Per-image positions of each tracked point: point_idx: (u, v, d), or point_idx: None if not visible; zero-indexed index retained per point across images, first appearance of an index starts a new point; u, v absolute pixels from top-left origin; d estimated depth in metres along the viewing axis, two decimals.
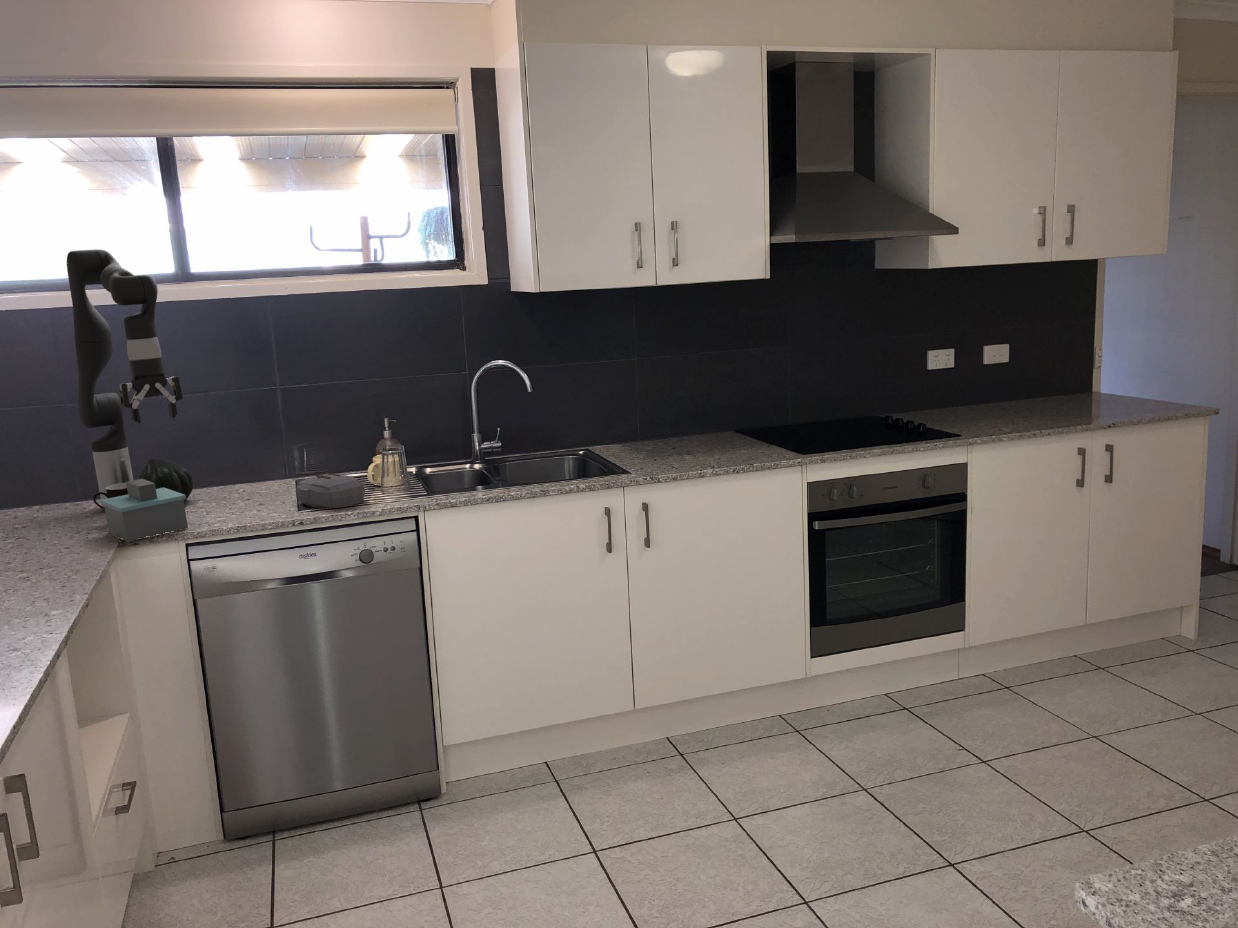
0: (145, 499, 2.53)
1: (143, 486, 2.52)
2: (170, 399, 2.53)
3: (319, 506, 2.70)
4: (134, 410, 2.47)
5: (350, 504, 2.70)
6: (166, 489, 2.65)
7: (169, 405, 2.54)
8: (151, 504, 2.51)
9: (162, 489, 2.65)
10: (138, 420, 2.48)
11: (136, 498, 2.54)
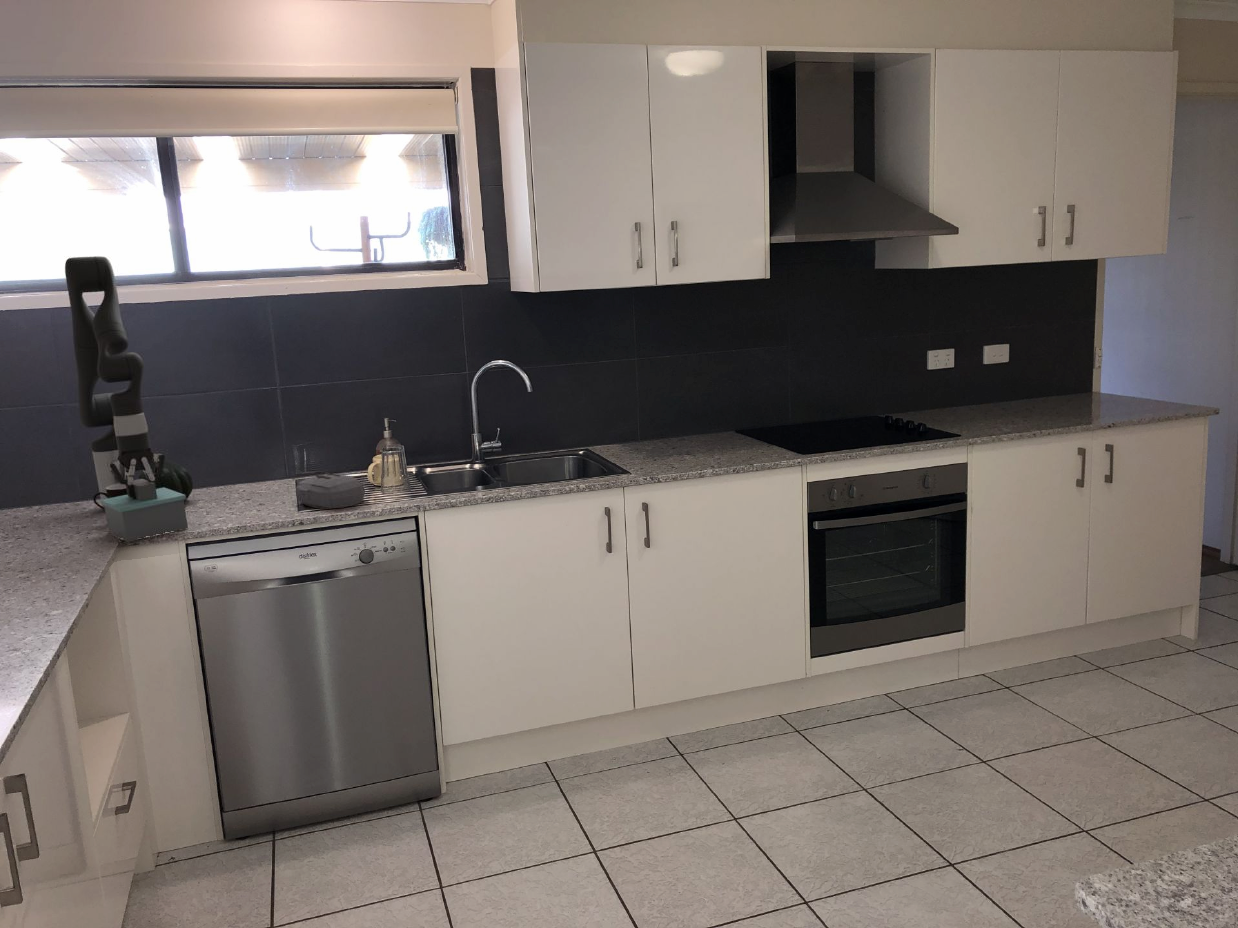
0: (145, 499, 2.53)
1: (143, 486, 2.52)
2: (150, 476, 2.56)
3: (318, 506, 2.70)
4: (130, 486, 2.54)
5: (350, 504, 2.70)
6: (166, 489, 2.65)
7: None
8: (151, 504, 2.51)
9: (162, 489, 2.65)
10: (133, 496, 2.54)
11: (136, 498, 2.54)
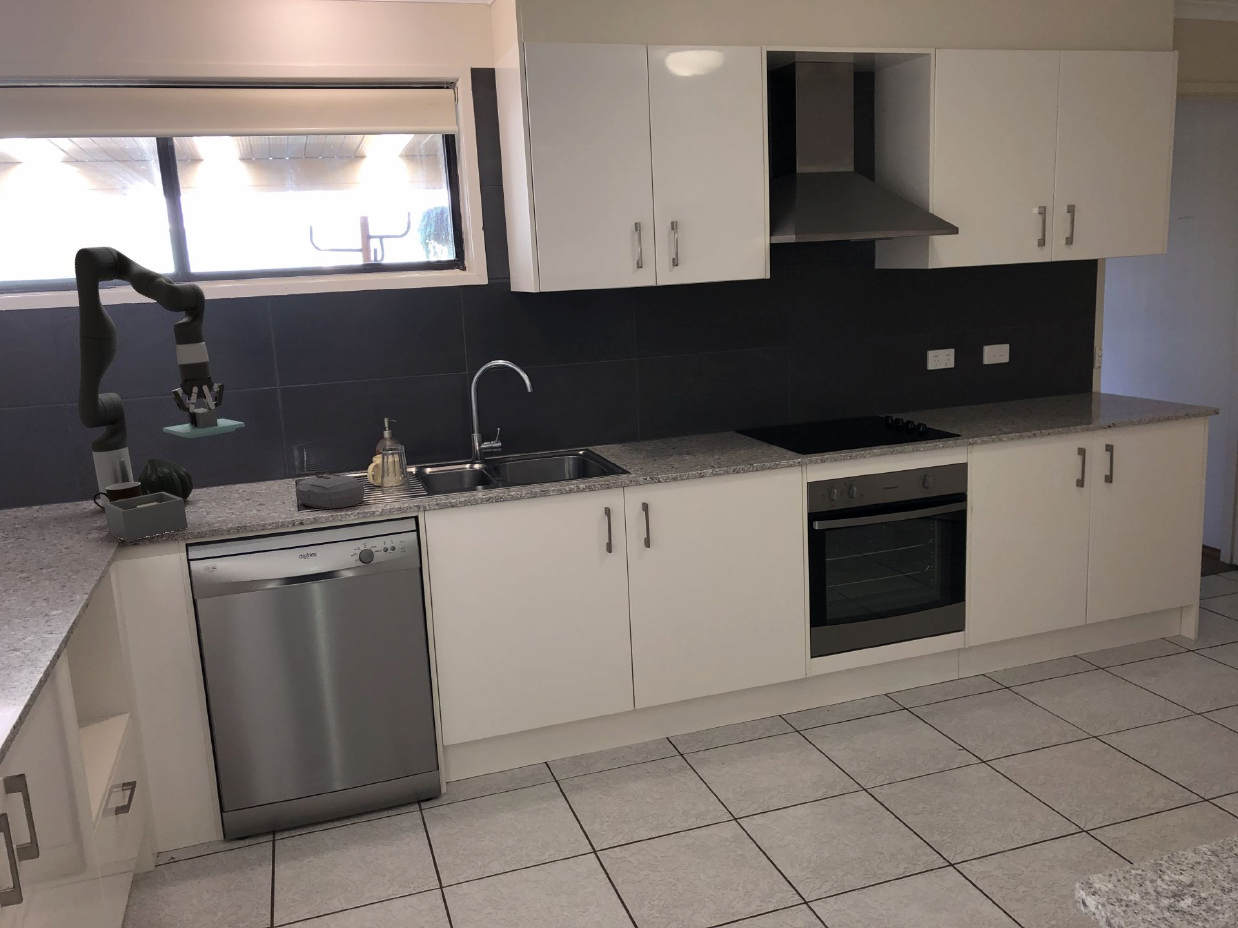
0: (206, 426, 2.61)
1: (205, 413, 2.60)
2: (210, 404, 2.65)
3: (318, 506, 2.70)
4: (191, 414, 2.62)
5: (350, 504, 2.70)
6: (224, 419, 2.73)
7: None
8: (212, 430, 2.59)
9: (220, 419, 2.74)
10: (195, 423, 2.63)
11: (197, 425, 2.63)
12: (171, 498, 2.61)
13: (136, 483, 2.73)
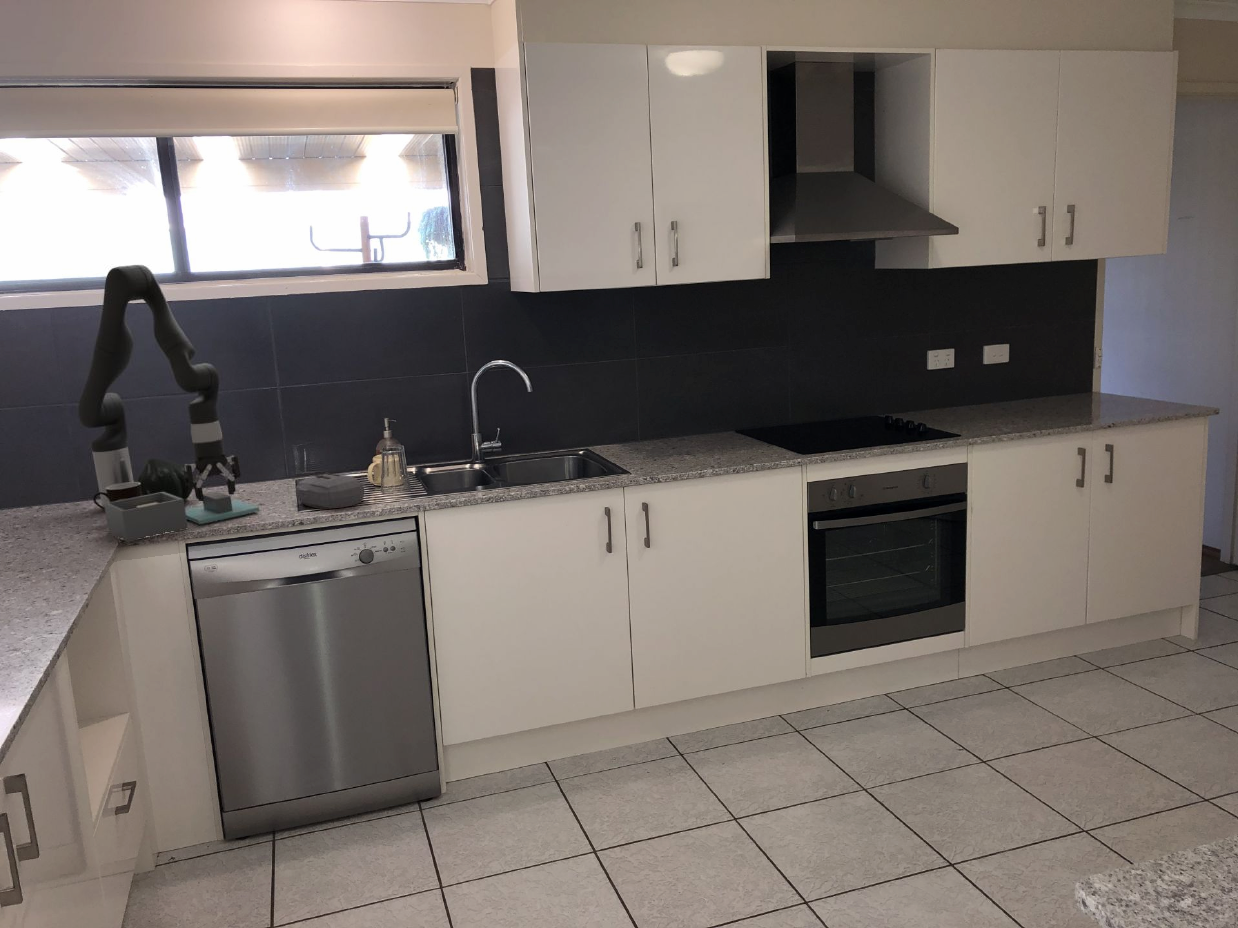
0: (221, 511, 2.66)
1: (220, 499, 2.66)
2: (229, 477, 2.71)
3: (318, 506, 2.70)
4: (198, 489, 2.66)
5: (349, 504, 2.70)
6: (238, 501, 2.79)
7: (228, 483, 2.72)
8: (228, 516, 2.64)
9: (234, 501, 2.79)
10: (201, 498, 2.66)
11: (212, 510, 2.68)
12: (171, 498, 2.61)
13: (136, 483, 2.73)
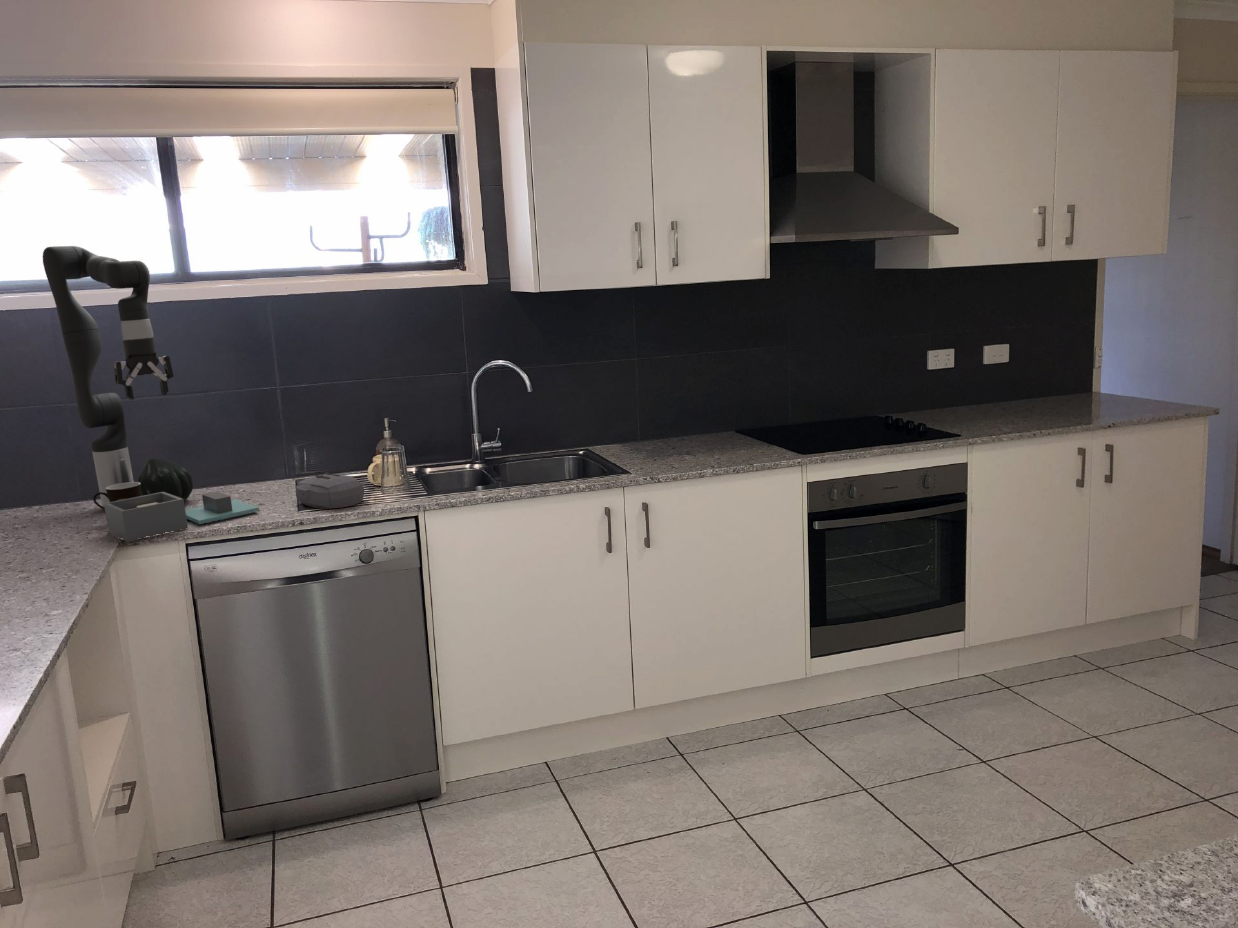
0: (221, 511, 2.66)
1: (220, 499, 2.66)
2: (161, 377, 2.69)
3: (318, 506, 2.70)
4: (128, 387, 2.64)
5: (349, 504, 2.70)
6: (238, 501, 2.79)
7: (161, 383, 2.70)
8: (227, 516, 2.64)
9: (234, 501, 2.79)
10: (131, 396, 2.65)
11: (212, 510, 2.68)
12: (171, 498, 2.61)
13: (136, 483, 2.73)
